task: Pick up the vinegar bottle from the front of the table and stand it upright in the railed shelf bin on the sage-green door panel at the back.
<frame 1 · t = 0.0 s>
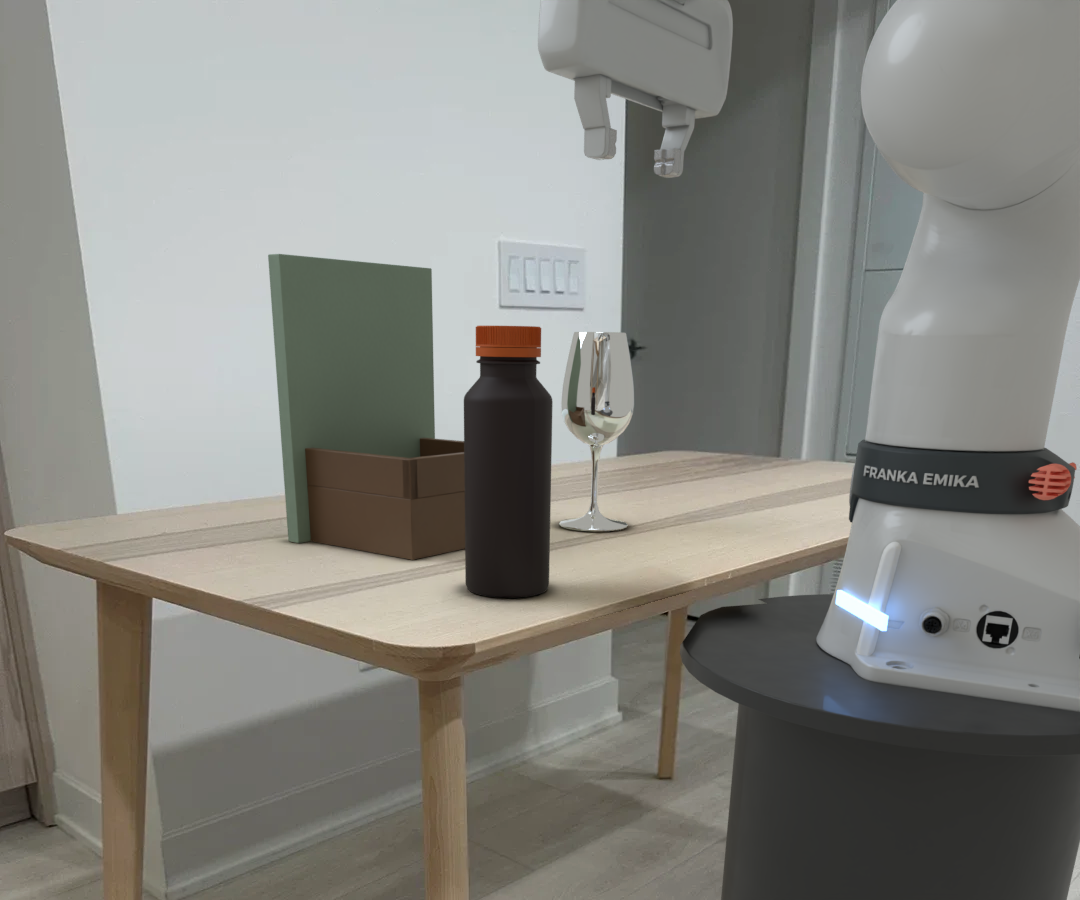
hand: (635, 167, 75), 31 cm above the table, tool pointing down, fingers open, 8 cm apart
wineglass: (593, 528, 112), on the table
vinegar: (507, 591, 83), on the table
door shelf: (420, 538, 103), on the table
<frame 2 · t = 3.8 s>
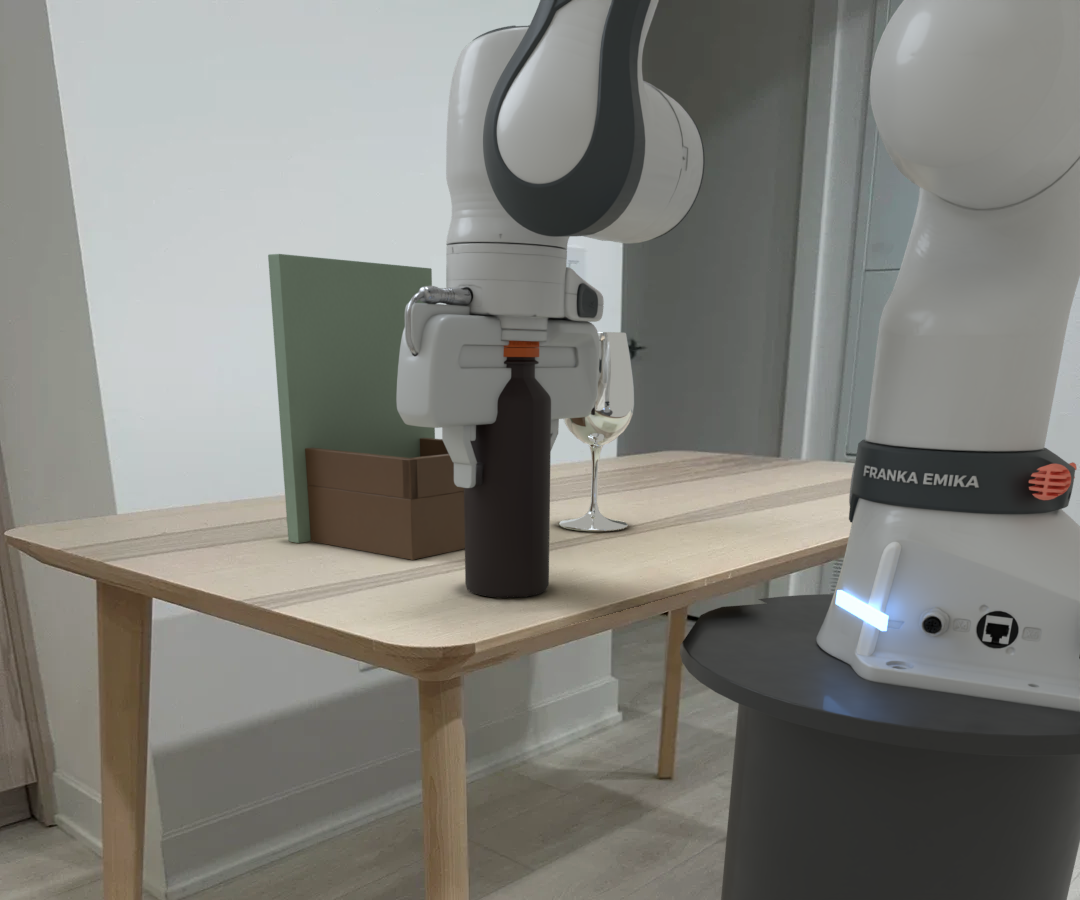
hand: (502, 482, 80), 9 cm above the table, tool pointing down, fingers closed on vinegar, 7 cm apart
vinegar: (507, 592, 83), on the table, touching arm, gripper
everything else where it was.
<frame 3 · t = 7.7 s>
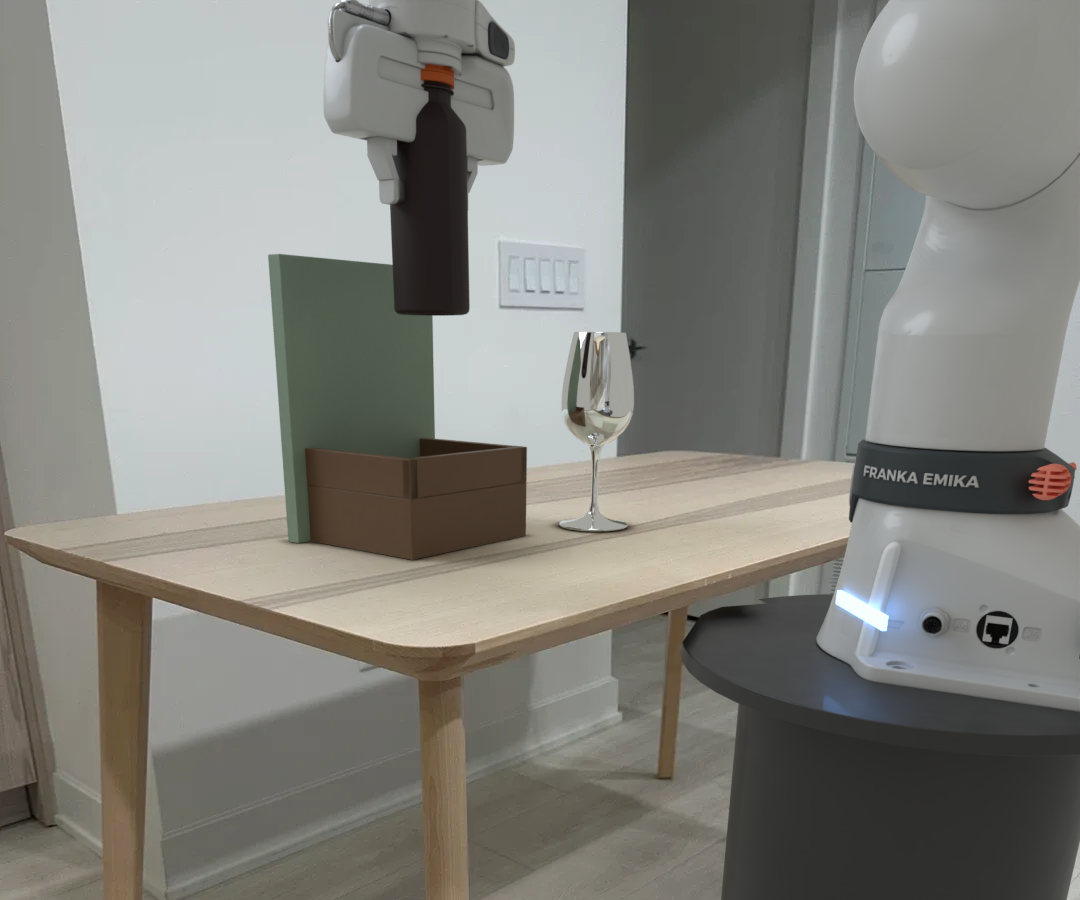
hand: (425, 209, 89), 30 cm above the table, tool pointing down, fingers closed on vinegar, 7 cm apart
vinegar: (432, 316, 92), point 21 cm above the table, touching arm, gripper
everything else where it was.
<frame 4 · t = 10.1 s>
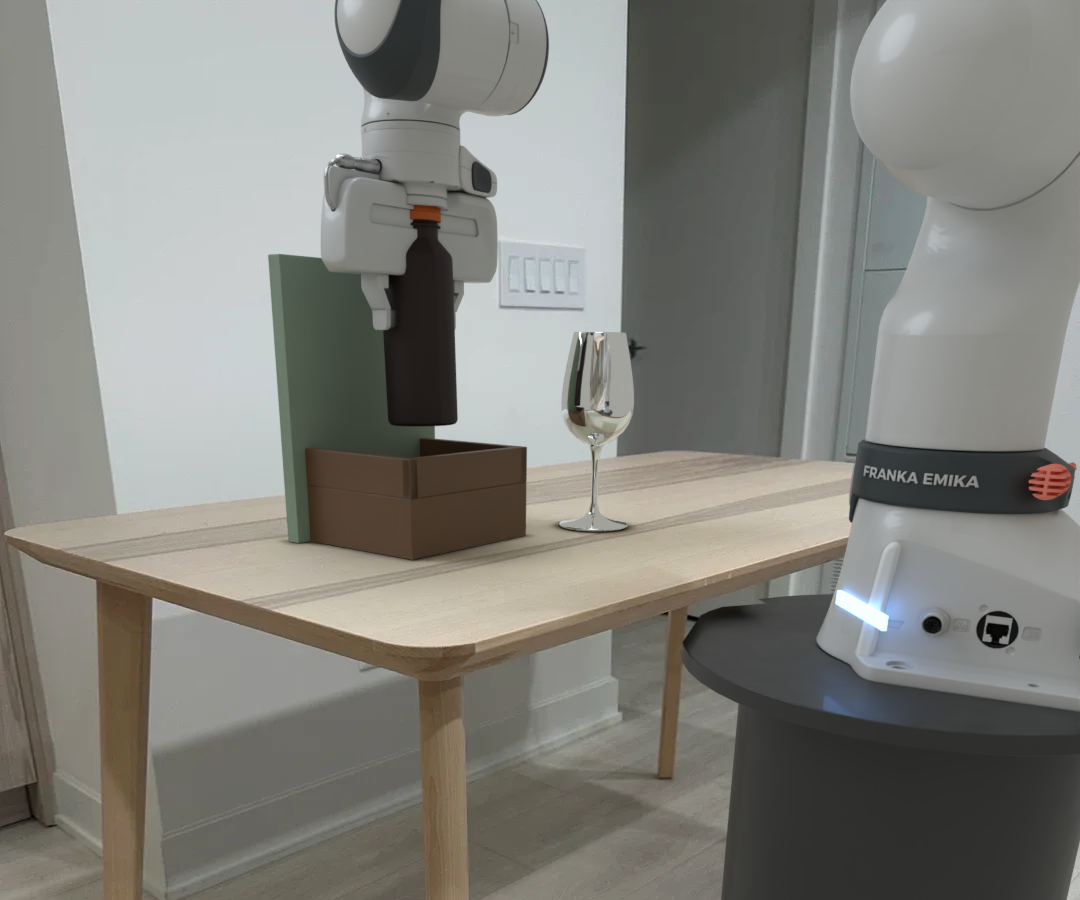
hand: (416, 331, 96), 20 cm above the table, tool pointing down, fingers closed on vinegar, 7 cm apart
vinegar: (423, 426, 99), point 11 cm above the table, touching arm, gripper
everything else where it was.
when the fingers open (14 cm above the table, at t = 12.0 s): vinegar stays where it is, resting on door shelf.
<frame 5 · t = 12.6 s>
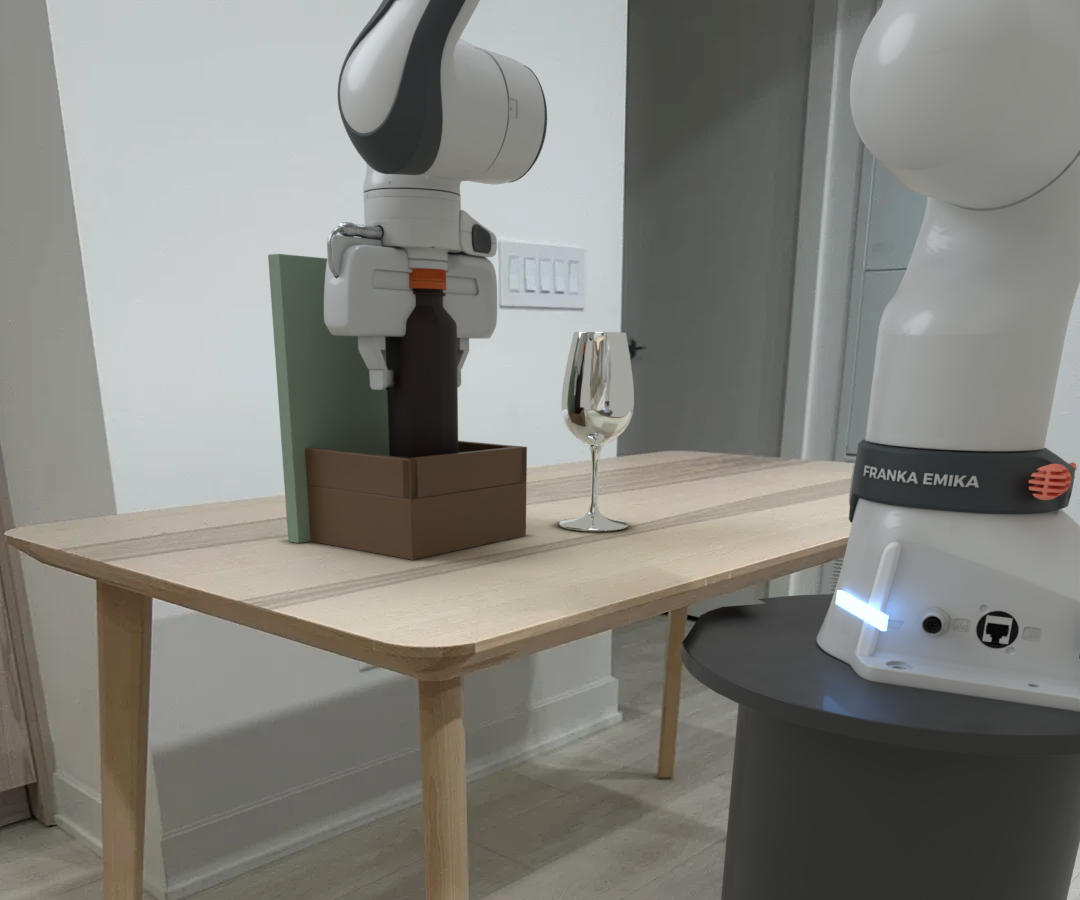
hand: (417, 388, 98), 15 cm above the table, tool pointing down, fingers open, 8 cm apart
vinegar: (424, 486, 101), point 5 cm above the table, touching door shelf
everything else where it was.
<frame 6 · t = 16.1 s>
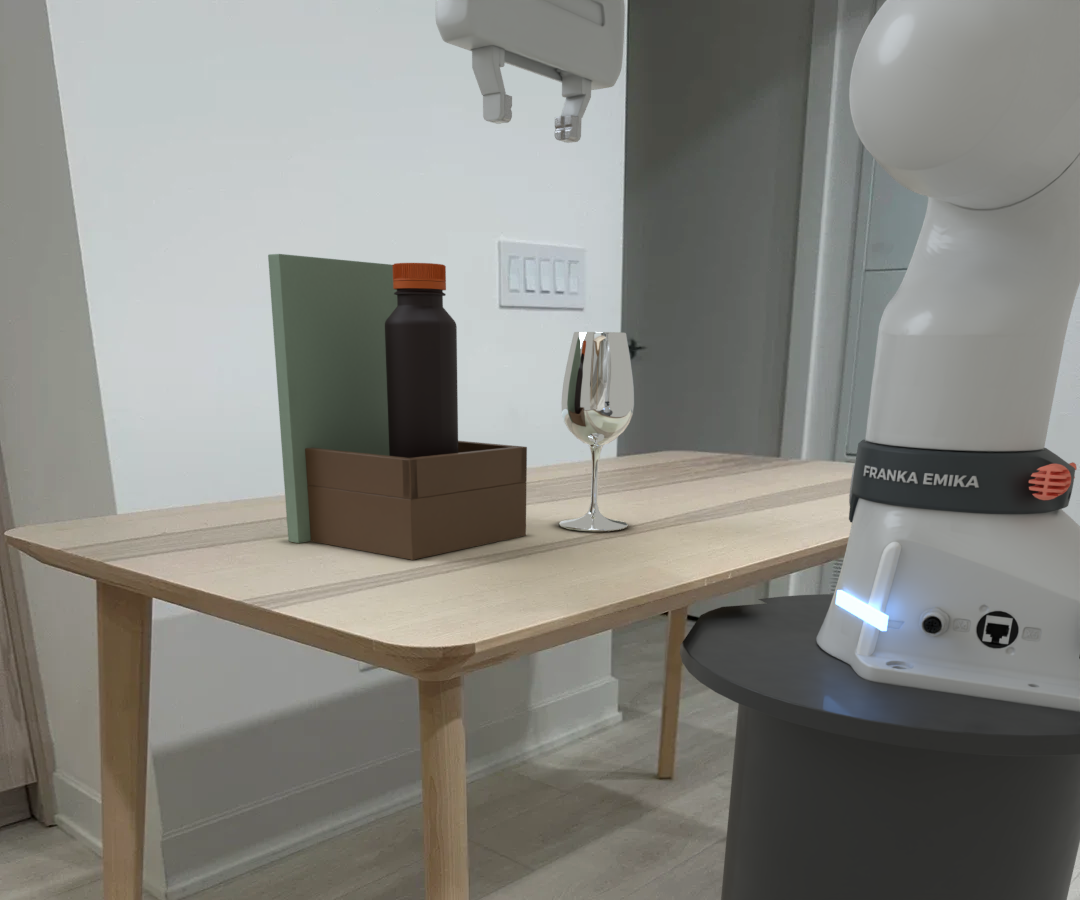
hand: (534, 132, 83), 35 cm above the table, tool pointing down, fingers open, 8 cm apart
nothing on the table moved.
at the end: vinegar inside the target area on the door shelf (0.9 cm from its centre), point 5.3 cm above the door shelf's base; vinegar tilted 0°; the gripper is holding nothing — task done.
